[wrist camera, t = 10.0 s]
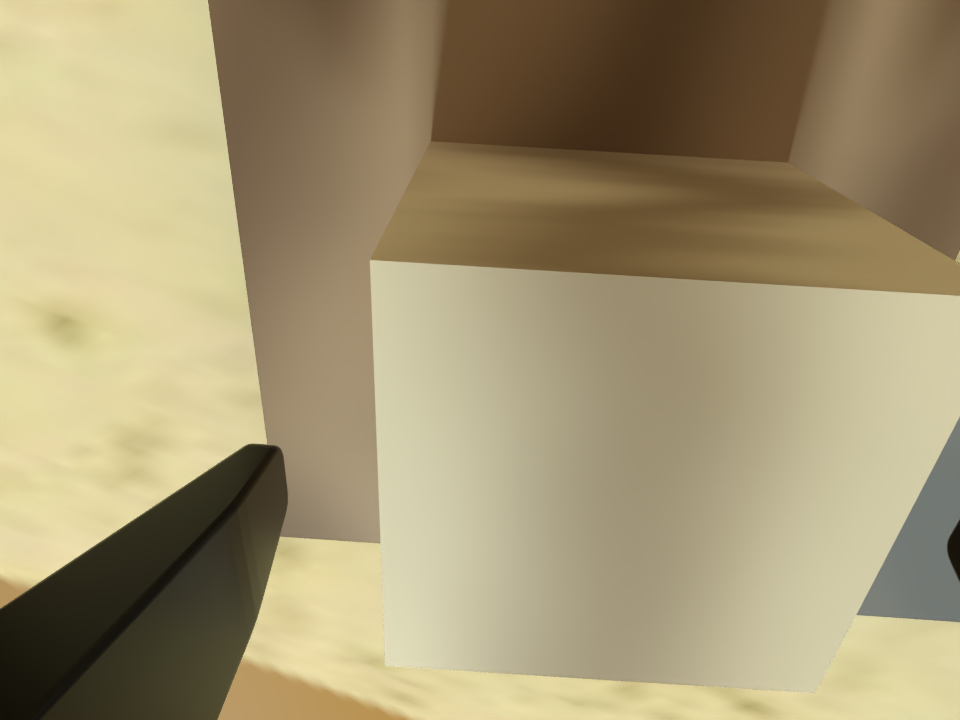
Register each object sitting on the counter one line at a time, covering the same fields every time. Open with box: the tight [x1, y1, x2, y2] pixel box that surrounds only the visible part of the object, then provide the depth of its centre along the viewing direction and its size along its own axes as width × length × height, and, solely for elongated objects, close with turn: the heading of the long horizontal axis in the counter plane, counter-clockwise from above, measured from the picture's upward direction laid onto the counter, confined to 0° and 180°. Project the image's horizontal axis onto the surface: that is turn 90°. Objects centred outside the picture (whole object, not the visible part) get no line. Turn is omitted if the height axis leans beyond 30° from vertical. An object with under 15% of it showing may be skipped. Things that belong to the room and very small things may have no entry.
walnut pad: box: [208, 0, 960, 543], centre depth 14 cm, size 14×14×2 cm
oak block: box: [370, 141, 960, 693], centre depth 11 cm, size 6×6×6 cm
